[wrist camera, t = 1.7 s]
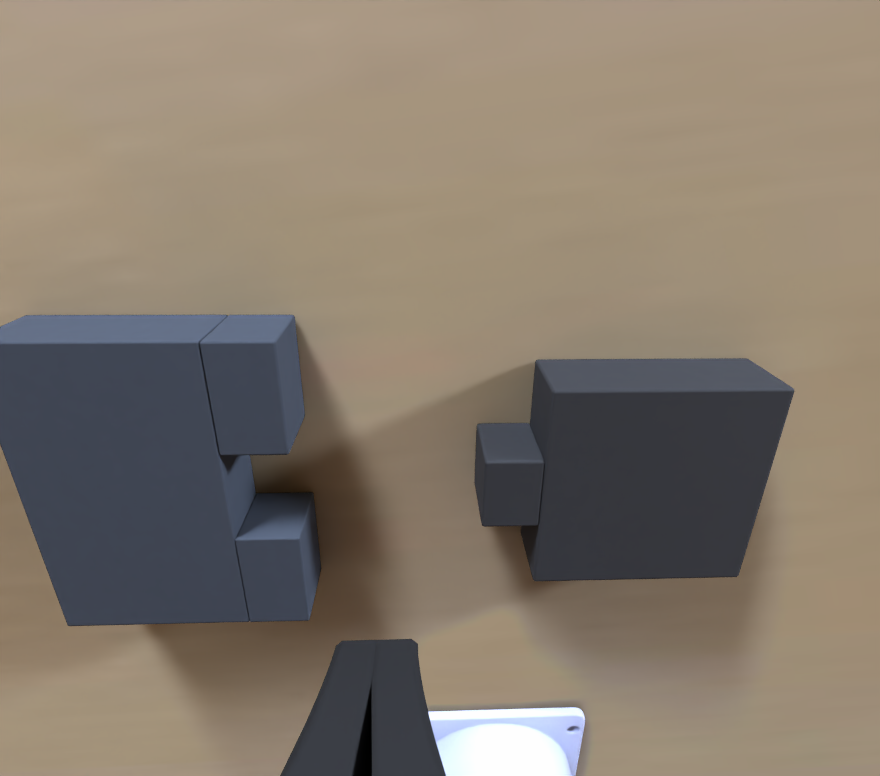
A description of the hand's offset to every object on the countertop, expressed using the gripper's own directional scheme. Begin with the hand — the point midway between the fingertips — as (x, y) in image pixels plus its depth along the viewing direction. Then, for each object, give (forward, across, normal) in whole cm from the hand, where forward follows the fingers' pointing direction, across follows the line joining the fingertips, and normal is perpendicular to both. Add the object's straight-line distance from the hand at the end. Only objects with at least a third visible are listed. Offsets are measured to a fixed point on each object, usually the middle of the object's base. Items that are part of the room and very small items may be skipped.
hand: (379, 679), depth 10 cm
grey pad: (+9, +7, +1) cm, 12 cm away
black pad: (+9, -8, +1) cm, 12 cm away
